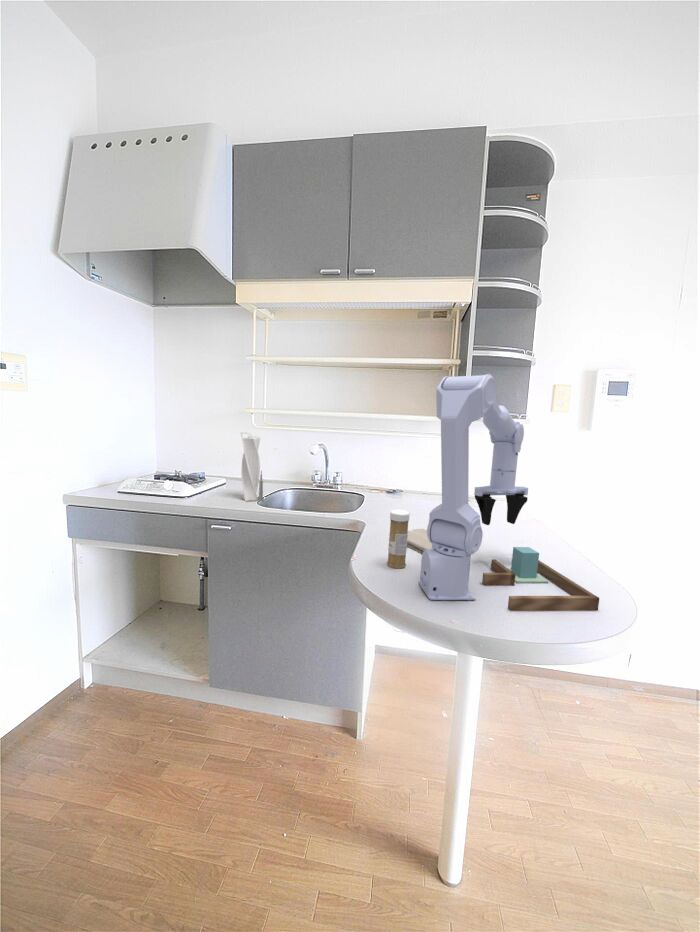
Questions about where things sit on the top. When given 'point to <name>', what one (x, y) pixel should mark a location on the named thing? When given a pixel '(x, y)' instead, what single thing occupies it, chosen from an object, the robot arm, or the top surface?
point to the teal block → (524, 562)
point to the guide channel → (576, 601)
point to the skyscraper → (251, 469)
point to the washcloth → (418, 540)
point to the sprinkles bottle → (398, 538)
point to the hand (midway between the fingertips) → (498, 523)
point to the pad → (530, 579)
